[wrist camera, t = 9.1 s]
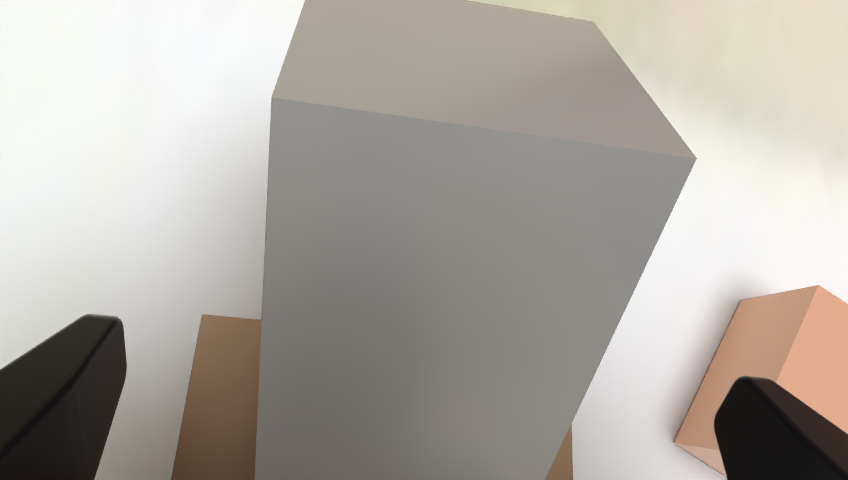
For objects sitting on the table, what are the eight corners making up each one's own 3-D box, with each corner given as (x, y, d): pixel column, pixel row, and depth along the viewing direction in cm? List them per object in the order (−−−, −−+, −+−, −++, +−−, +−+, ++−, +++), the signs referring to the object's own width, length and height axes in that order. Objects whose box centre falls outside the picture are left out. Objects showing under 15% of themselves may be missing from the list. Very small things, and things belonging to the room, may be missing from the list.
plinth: (814, 533, 23) (912, 563, 20) (673, 442, 23) (744, 454, 19) (872, 386, 25) (974, 386, 21) (740, 300, 25) (818, 285, 21)
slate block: (522, 525, 13) (696, 158, 8) (253, 509, 12) (271, 97, 7) (490, 338, 17) (593, 21, 12) (287, 318, 16) (313, -26, 11)
